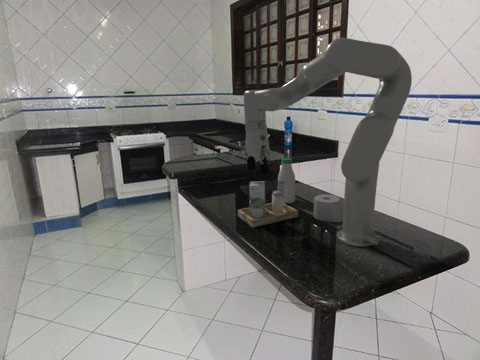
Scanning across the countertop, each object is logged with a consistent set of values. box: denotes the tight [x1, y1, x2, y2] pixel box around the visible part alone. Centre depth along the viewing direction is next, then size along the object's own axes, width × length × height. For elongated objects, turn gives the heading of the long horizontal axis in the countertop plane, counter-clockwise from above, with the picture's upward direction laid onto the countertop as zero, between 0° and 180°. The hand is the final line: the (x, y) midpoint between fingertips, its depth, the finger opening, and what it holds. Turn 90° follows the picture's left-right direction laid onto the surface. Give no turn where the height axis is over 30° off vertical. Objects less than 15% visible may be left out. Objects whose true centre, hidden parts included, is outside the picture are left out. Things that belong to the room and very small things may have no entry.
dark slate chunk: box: [239, 178, 278, 198], centre depth 164 cm, size 15×22×5 cm
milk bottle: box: [277, 157, 296, 204], centre depth 144 cm, size 8×8×20 cm
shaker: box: [271, 191, 283, 214], centre depth 129 cm, size 4×4×9 cm
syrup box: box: [249, 180, 266, 219], centre depth 124 cm, size 6×6×14 cm
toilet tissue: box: [313, 194, 344, 225], centre depth 125 cm, size 9×13×9 cm
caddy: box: [236, 202, 299, 228], centre depth 128 cm, size 13×20×4 cm, turn 116°
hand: (257, 171), depth 121 cm, fingers open, 9 cm apart
